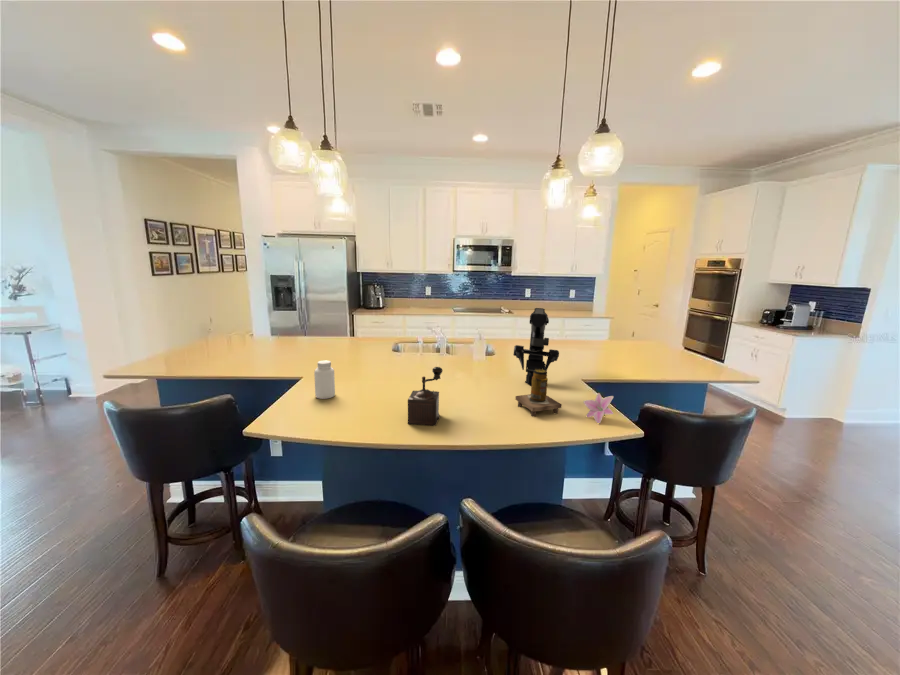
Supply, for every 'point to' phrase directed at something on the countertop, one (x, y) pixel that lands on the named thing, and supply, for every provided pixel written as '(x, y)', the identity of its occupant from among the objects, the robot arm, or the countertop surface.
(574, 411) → the countertop surface
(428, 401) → the manual coffee grinder
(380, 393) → the countertop surface
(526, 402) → the stool
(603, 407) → the lily
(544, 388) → the condiment
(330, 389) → the pill bottle
